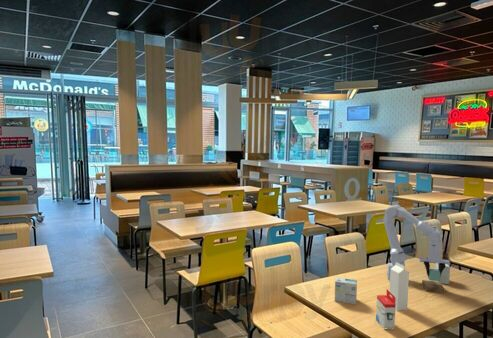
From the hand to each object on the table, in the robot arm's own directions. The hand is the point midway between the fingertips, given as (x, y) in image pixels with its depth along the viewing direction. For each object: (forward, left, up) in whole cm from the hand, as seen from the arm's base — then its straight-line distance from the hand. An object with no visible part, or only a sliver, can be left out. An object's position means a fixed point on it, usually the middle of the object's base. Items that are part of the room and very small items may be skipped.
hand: (433, 275), depth 187 cm
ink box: (-30, -48, -8) cm, 57 cm away
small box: (+8, +13, -8) cm, 17 cm away
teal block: (0, 0, -2) cm, 2 cm away
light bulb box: (-47, -29, -8) cm, 56 cm away
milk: (-22, -29, -8) cm, 37 cm away
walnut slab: (0, 0, -8) cm, 8 cm away
